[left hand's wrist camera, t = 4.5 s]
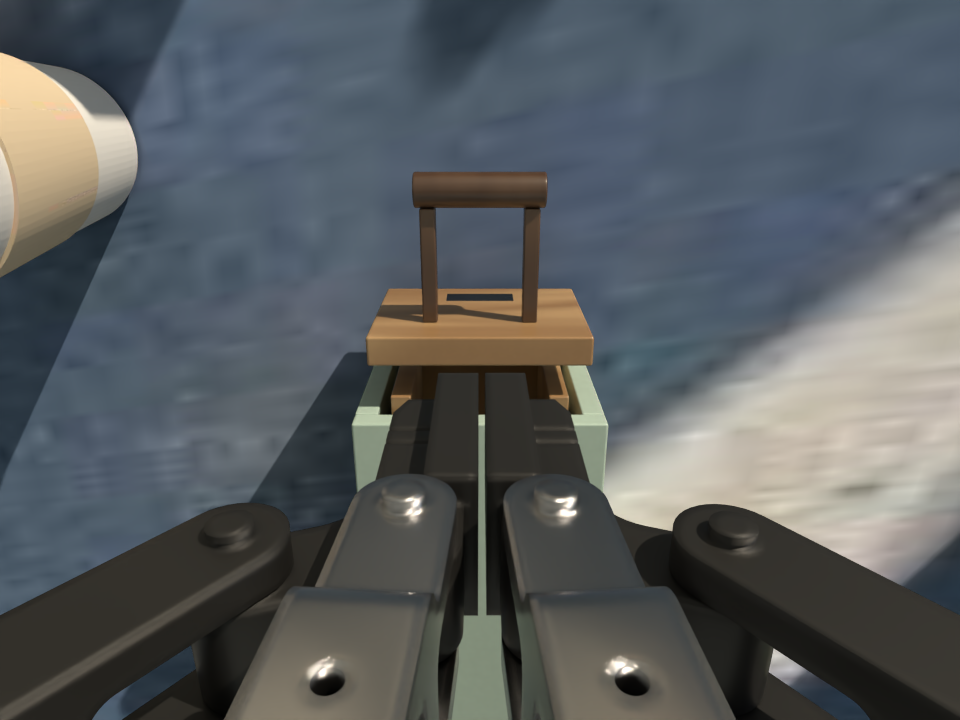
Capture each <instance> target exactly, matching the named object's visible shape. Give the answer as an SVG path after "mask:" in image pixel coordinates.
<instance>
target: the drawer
mask: <svg viewBox="0 0 960 720" xmlns="http://www.w3.org/2000/svg"><path fill="white" fill-rule="evenodd" d="M412 197H413V205H414V207H415V208H420V210H419V221H420V251H421V281H422V289H388V291H387V293H386V295H385V298H384V300H383V302H382V304H381V306H380V309H379V311H378V313H377V315H376V317H375V319H374V322H373V324H372V326H371V328H370V330H369V333H368V335H367V337H366V350H367V364H368V365H369V366H400V367H399V370H398V374H397V377H396V381H395V384H394V388H393V391H392V395H391V413H392V415H393V412H395V411H396V410H397V409H398V408H399V407H400V406H402V405H403V404H404V403H405V402H406V401H407V400H409V399H435V392H436V386H437V379H438V373H478V405H479V415H485V373H525V375H526V381H527V388H528V394H529V399H555V400H556V401H557V402H559V403H560V404H561V405H562V406H563V407H565V408H566V409H567V410H568V406H569V396H568V393H567V389H566V386H565V382H564V379H563V375H562V372H561V368H560V366H590V365H592V360H593V345H594V338H593V335H592V333H591V331H590V329H589V327H588V324H587V322H586V320H585V318H584V316H583V314H582V311H581V309H580V307H579V305H578V303H577V300H576V298H575V296H574V294H573V292H572V289H538V271H539V241H540V208H545V207H546V203H547V174H546V172H414V173H413V177H412ZM436 208H524V225H523V268H522V289H438V283H437V241H436Z"/></svg>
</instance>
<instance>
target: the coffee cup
mask: <svg viewBox="0 0 960 720" xmlns="http://www.w3.org/2000/svg"><path fill="white" fill-rule="evenodd" d="M137 166H138V155H137V146H136V142H135V138H134V134H133V131H132V129H131V126H130V124H129V122H128V120H127V118H126V116H125V114H124V113H123V111H122V110H121V108H120V107H119V105H118V104H117V103H116V102H115V100H114V99H113V98H112V97H111V96H110V95H109V94H108V93H107V92H106V91H105V90H104V89H103V88H101V87H100V86H99V85H98V84H96V83H95V82H93V81H92V80H90V79H89V78H87V77H85V76H83V75H81V74H79V73H77V72H75V71H72V70H69V69H65V68H61V67H56V66H51V65H45V64H40V63H34V62H29V61H23V60H19V59H17V58H15V57H12V56H9V55H6V54H3V53H0V277H2V276H4V275H6V274H7V273H9V272H11V271H13V270H14V269H16V268H18V267H20V266H22V265H23V264H25V263H27V262H29V261H30V260H32V259H34V258H36V257H37V256H39V255H41V254H43V253H45V252H46V251H48V250H50V249H52V248H53V247H55V246H57V245H59V244H61V243H62V242H64V241H65V240H67V239H68V238H70V237H71V236H72V235H73V234H74V233H76V232H77V231H79V230H81V229H83V228H85V227H87V226H89V225H90V224H92V223H94V222H96V221H98V220H100V219H102V218H104V217H106V216H107V215H109V214H111V213H112V212H114V211H115V210H116V209H117V208H118V207H119V206H120V205H121V204H122V203H123V202H124V201H125V199H126V198H127V197H128V195H129V193H130V192H131V189H132V187H133V185H134V182H135V178H136V174H137Z"/></svg>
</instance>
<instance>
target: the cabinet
mask: <svg viewBox="0 0 960 720" xmlns="http://www.w3.org/2000/svg"><path fill="white" fill-rule="evenodd" d="M399 367H400V366H374V367H373V370H372V372H371V375H370V377H369V380H368V383H367V385H366V388H365V390H364V393H363V396H362V398H361V401H360V404H359V406H358V409H357V411H356V414H355V417H354V420H353V423H352V438H353V451H354V463H355V476H356V488H357V492H358V491H359V490H360V489H362V488H363V487H364V486H365V485H367V484H369V483H371V482H373V481H375V479H376V476H377V472H378V468H379V464H380V461H381V457H382V453H383V449H384V446H385V444H386V438H387V434H388V431H389V427H390V423H391V419H392V416H393V415H392V413H391V395H392V391H393V388H394V384H395V381H396V377H397V374H398V370H399ZM560 368H561V372H562V375H563V379H564V382H565V386H566V389H567V393H568V396H569V406H568V411H569V412H570V413H571V417H572V420H573V424H574V427H575V431H576V435H577V438H578V444H579V445H580V449H581V453H582V456H583V460H584V463H585V467H586V471H587V474H588V478H589V481H590V483H591V484H593V485H595V486H596V487H597V488H598V489H600V490H601V491H602V492H603V485H604V472H605V459H606V447H607V434H608V423H607V421H606V418H605V416H604V413H603V410H602V407H601V405H600V402H599V400H598V397H597V394H596V392H595V389H594V386H593V384H592V381H591V378H590V376H589V373H588V371H587V368H586V366H560ZM452 720H508V714H507V707H506V699H505V691H504V683H503V675H502V667H501V615H486V545H485V415H479V489H478V616H464V628H463V637H462V640H461V642H460V644H459V667H458V675H457V683H456V691H455V699H454V707H453V714H452Z"/></svg>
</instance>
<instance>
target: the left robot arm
mask: <svg viewBox="0 0 960 720" xmlns="http://www.w3.org/2000/svg"><path fill="white" fill-rule="evenodd" d="M478 489H479V405H478V373H438V379H437V386H436V392H435V399H409V400H407V401H406V402H405V403H404V404H403V405H402V406H400V407H399V408H398V409H397V410H396V411H395V412H393V416H392V419H391V423H390V427H389V431H388V434H387V438H386V444H385V446H384V449H383V453H382V457H381V461H380V464H379V468H378V472H377V476H376V479H375V481H373V482H371V483H369V484H367V485H365V486H364V487H363V488H362V489H360V490H359V491H358V492H357V493H356V495H355V496H354V498H353V500H352V502H351V504H350V507H349V509H348V511H347V514H346V516H345V518H343V519H341V520H339V521H336V522H333V523H330V524H326V525H322V526H318V527H313V528H308V529H303V530H298V531H294V532H290V526H289V521H288V519H287V517H286V516H285V514H284V513H283V512H281V511H280V510H279V509H277V508H274V507H272V506H269V505H265V504H259V503H237V504H231V505H226V506H222V507H218V508H215V509H212V510H209V511H207V512H205V513H202V514H200V515H198V516H196V517H194V518H192V519H190V520H188V521H186V522H184V523H182V524H180V525H178V526H176V527H174V528H172V529H170V530H168V531H166V532H164V533H162V534H160V535H158V536H156V537H154V538H152V539H150V540H148V541H147V542H145V543H143V544H141V545H139V546H137V547H135V548H133V549H131V550H129V551H127V552H125V553H123V554H121V555H119V556H117V557H115V558H113V559H111V560H109V561H107V562H105V563H103V564H101V565H99V566H97V567H95V568H93V569H91V570H89V571H87V572H85V573H83V574H81V575H79V576H77V577H75V578H73V579H71V580H69V581H67V582H65V583H63V584H61V585H59V586H57V587H55V588H53V589H51V590H49V591H47V592H45V593H44V594H42V595H40V596H38V597H36V598H34V599H32V600H30V601H28V602H26V603H24V604H22V605H20V606H18V607H16V608H14V609H12V610H10V611H8V612H6V613H4V614H2V615H0V720H92V719H93V717H94V715H95V714H96V713H97V711H98V710H99V709H100V708H101V707H102V706H103V704H104V703H105V702H107V701H108V700H109V699H110V698H111V697H113V696H114V695H115V694H117V693H118V692H120V691H121V690H123V689H124V688H126V687H127V686H129V685H130V684H132V683H134V682H135V681H137V680H138V679H140V678H141V677H143V676H144V675H146V674H147V673H149V672H150V671H152V670H153V669H155V668H157V667H158V666H160V665H161V664H163V663H164V662H166V661H167V660H169V659H170V658H172V657H173V656H175V655H176V654H178V653H180V652H181V651H183V650H184V649H186V648H187V647H189V646H190V645H191V647H192V652H193V657H194V661H195V666H196V669H195V670H194V671H193V672H191V673H190V674H188V675H187V676H185V677H184V678H182V679H181V680H179V681H178V682H176V683H175V684H174V685H172V686H171V687H169V688H168V689H166V690H165V691H163V692H162V693H160V694H159V695H157V696H156V697H155V698H153V699H152V700H150V701H149V702H147V703H146V704H144V705H143V706H141V707H140V708H138V709H137V710H136V711H134V712H133V713H131V714H130V715H128V716H127V717H125V718H124V719H122V720H452V714H453V707H454V699H455V691H456V683H457V675H458V667H459V644H460V642H461V640H462V637H463V628H464V616H478ZM485 545H486V615H501V667H502V675H503V683H504V691H505V699H506V707H507V714H508V720H838V719H836V718H835V717H833V716H832V715H830V714H829V713H827V712H826V711H825V710H823V709H822V708H820V707H819V706H817V705H816V704H814V703H813V702H811V701H810V700H808V699H807V698H806V697H804V696H803V695H801V694H800V693H798V692H797V691H795V690H794V689H792V688H791V687H789V686H788V685H787V684H785V683H784V682H782V681H781V680H779V679H778V678H776V677H775V676H773V675H772V674H770V673H769V667H770V663H771V658H772V653H773V648H774V649H776V650H777V651H779V652H780V653H782V654H784V655H785V656H787V657H788V658H790V659H791V660H793V661H794V662H796V663H797V664H799V665H800V666H802V667H803V668H805V669H807V670H808V671H810V672H811V673H813V674H814V675H816V676H817V677H819V678H820V679H822V680H823V681H825V682H826V683H828V684H830V685H831V686H833V687H834V688H836V689H837V690H839V691H840V692H842V693H843V694H845V695H846V696H848V697H849V698H851V699H852V700H853V701H854V702H856V703H857V704H858V705H859V706H860V707H861V708H862V709H863V710H864V711H865V713H866V714H867V715H868V717H869V718H870V720H960V615H958V614H956V613H954V612H952V611H950V610H948V609H946V608H944V607H942V606H940V605H938V604H936V603H934V602H932V601H930V600H928V599H926V598H924V597H922V596H920V595H919V594H917V593H915V592H913V591H911V590H909V589H907V588H905V587H903V586H901V585H899V584H897V583H895V582H893V581H891V580H889V579H887V578H885V577H883V576H881V575H879V574H877V573H875V572H873V571H871V570H869V569H867V568H865V567H863V566H861V565H859V564H857V563H855V562H853V561H851V560H849V559H847V558H845V557H843V556H841V555H839V554H837V553H835V552H833V551H831V550H829V549H827V548H825V547H823V546H821V545H819V544H817V543H815V542H814V541H812V540H810V539H808V538H806V537H804V536H802V535H800V534H798V533H796V532H794V531H792V530H790V529H788V528H786V527H784V526H782V525H780V524H778V523H776V522H774V521H772V520H770V519H768V518H766V517H764V516H762V515H760V514H757V513H755V512H753V511H750V510H747V509H743V508H739V507H735V506H730V505H721V504H706V505H699V506H695V507H691V508H689V509H687V510H684V511H683V512H682V513H680V514H679V515H678V516H677V518H676V519H675V521H674V524H673V531H668V530H663V529H658V528H653V527H648V526H643V525H639V524H635V523H632V522H629V521H627V520H624V519H622V518H620V517H618V516H616V515H614V514H613V511H612V509H611V507H610V504H609V502H608V500H607V498H606V496H605V495H604V493H603V492H602V491H601V490H600V489H598V488H597V487H596V486H595V485H593V484H591V483H590V481H589V478H588V474H587V471H586V467H585V463H584V460H583V456H582V453H581V449H580V445H579V444H578V438H577V435H576V431H575V427H574V424H573V420H572V417H571V413H570V412H569V411H568V410H567V409H566V408H565V407H563V406H562V405H561V404H560V403H559V402H557V401H556V400H555V399H529V394H528V388H527V381H526V375H525V373H485Z"/></svg>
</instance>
